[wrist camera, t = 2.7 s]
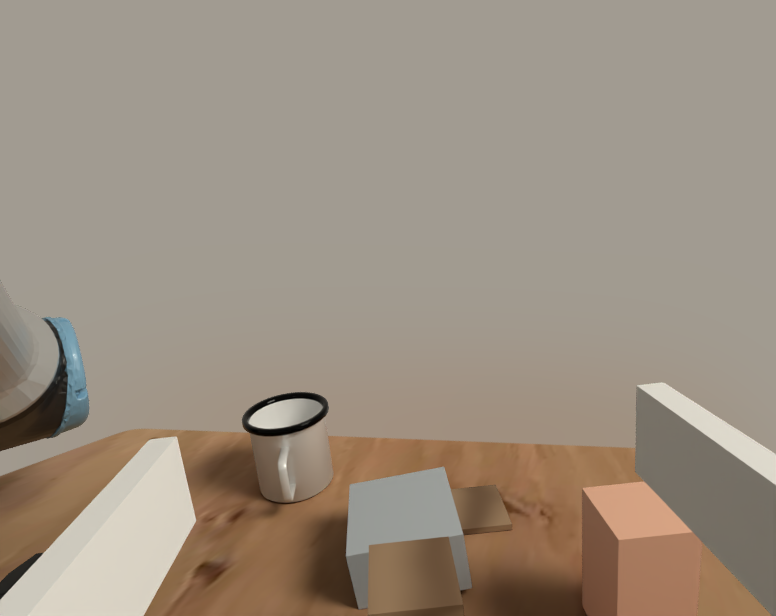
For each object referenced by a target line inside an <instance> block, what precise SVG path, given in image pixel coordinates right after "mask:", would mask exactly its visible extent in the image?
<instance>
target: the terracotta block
mask: <svg viewBox="0 0 776 616" xmlns="http://www.w3.org/2000/svg"><path fill="white" fill-rule="evenodd" d="M701 553H702V541H701V540H700V539H699V538H698V537H697V536H696V535H695V534H694V533H693V532H692V531H691V530H690V529H689V528H688V527H687V526H686V524H685V523H684V522H683V521H682V520H681V519H680V518H679V517H678V516H677V515H676V514H675V513H674V512H673V511H672V510H671V509H670V508H669V507H668V506H667V505H666V503H665V502H664V501H663V500H662V499H661V498H660V497H659V496H658V495H657V494H656V493H655V492H654V491H653V490H652V489H651V488H650V487H649V486H648V485H647V484H646V482H635V483H626V484H617V485H607V486H598V487H588V488H582V606H583V608H584V610H585V612H586V614H587V616H697V610H698V596H699V582H700V567H701Z"/></svg>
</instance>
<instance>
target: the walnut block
mask: <svg viewBox="0 0 776 616" xmlns="http://www.w3.org/2000/svg"><path fill="white" fill-rule="evenodd" d="M368 616H464V608H463V601H462V596H461V592H460V587H459V582H458V578H457V573H456V569H455V564H454V559H453V555H452V550H451V546H450V541H449V536H448V537H438V538H429V539H420V540H411V541H401V542H392V543H383V544H373V545H369V567H368Z"/></svg>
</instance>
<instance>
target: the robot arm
mask: <svg viewBox="0 0 776 616" xmlns="http://www.w3.org/2000/svg"><path fill="white" fill-rule="evenodd" d="M636 394H637V395H636V396H637V397H636V455H635V472H636V473H637V474H638V475H639V476H640V477H641V478H642V479H643V480H644V481H645V482H646V484H647V485H648V486H649V487H650V488H651V489H652V490H653V491H654V492H655V493H656V494H657V495H658V496H659V497H660V498H661V499H662V500H663V501H664V502H665V503H666V505H667V506H668V507H669V508H670V509H671V510H672V511H673V512H674V513H675V514H676V515H677V516H678V517H679V518H680V519H681V520H682V521H683V522H684V523H685V524H686V526H687V527H688V528H689V529H690V530H691V531H692V532H693V533H694V534H695V535H696V536H697V537H698V538H699V539H700V540H701V541H702V542H703V543H704V544H705V545H706V547H707V548H708V549H709V550H710V551H711V552H712V553H713V554H714V555H715V556H716V557H717V558H718V559H719V560H720V561H721V562H722V563H723V564H724V565H725V567H726V568H727V569H728V570H729V571H730V572H731V573H732V574H733V575H734V576H735V577H736V578H737V579H738V580H739V581H740V582H741V583H742V584H743V585H744V586H745V588H746V589H747V590H748V591H749V592H750V593H751V594H752V595H753V596H754V597H755V598H756V599H757V600H758V601H759V602H760V603H761V604H762V605H763V606H764V607H765V609H766V610H767V611H768V612H769V613H770V614H771V615H772V616H776V454H775V453H773V452H771V451H770V450H768V449H767V448H765V447H764V446H762V445H760V444H759V443H757V442H756V441H754V440H753V439H751V438H749V437H748V436H746V435H745V434H743V433H741V432H740V431H738V430H737V429H735V428H734V427H732V426H731V425H729V424H728V423H726V422H724V421H723V420H721V419H720V418H718V417H717V416H715V415H713V414H712V413H710V412H709V411H707V410H706V409H704V408H703V407H701V406H699V405H698V404H696V403H695V402H693V401H692V400H690V399H688V398H687V397H685V396H684V395H682V394H681V393H679V392H677V391H676V390H674V389H673V388H671V387H670V386H668V385H667V384H665V383H654V384H646V385H637V393H636ZM88 414H89V399H88V393H87V389H86V378H85V372H84V367H83V362H82V357H81V353H80V349H79V345H78V341H77V337H76V334H75V331H74V328H73V327H72V325H71V323H70V321H69V320H67V319H65V318H61V317H59V318H51V317H45V318H40V317H39V316H37V315H36V314H34V313H33V312H31V311H29V310H28V309H25V308H23V307H21V306H18V305H14V303H13V302H12V300H11V298H10V296H9V295H8V293H7V291H6V289H5V288H4V286H3V284H2V282H1V281H0V451H2V450H6V449H9V448H13V447H16V446H19V445H23V444H27V443H30V442H33V441H37V440H40V439H44V438H53V437H56V436H58V435H59V434H60V433H63V432H65V431H68V430H71V429H73V428H76V427H79V426H80V425H82V424H83V423H84V422H85V421H86V419H87V417H88ZM195 522H196V518H195V514H194V509H193V505H192V501H191V496H190V492H189V488H188V484H187V479H186V475H185V471H184V466H183V462H182V458H181V453H180V449H179V445H178V440H177V437H169V438H160V439H151V440H149V441H148V442H147V443H146V444H145V445H144V446H143V447H142V448H141V449H140V451H139V452H138V453H137V454H136V455H135V456H134V457H133V458H132V459H131V460H130V461H129V462H128V463H127V464H126V466H125V467H124V468H123V469H122V470H121V471H120V472H119V473H118V474H117V475H116V476H115V477H114V478H113V479H112V481H111V482H110V483H109V484H108V485H107V486H106V487H105V488H104V489H103V490H102V491H101V492H100V493H99V494H98V496H97V497H96V498H95V499H94V500H93V501H92V502H91V503H90V504H89V505H88V506H87V507H86V508H85V509H84V511H83V512H82V513H81V514H80V515H79V516H78V517H77V518H76V519H75V520H74V521H73V522H72V523H71V524H70V526H69V527H68V528H67V529H66V530H65V531H64V532H63V533H62V534H61V535H60V536H59V537H58V538H57V539H56V541H55V542H54V543H53V544H52V545H51V546H50V547H49V548H48V549H47V550H46V551H45V552H44V553H38V554H35V555H34V556H33V557H31V558H30V559H28V560H27V561H26V562H24V563H23V564H21V565H20V566H19V567H17V568H16V569H14V570H13V571H12V572H10V573H9V574H8V575H7V576H6V577H5V578H4V579H3V580H2V581H1V582H0V616H143V615H144V614H145V612H146V610H147V608H148V606H149V605H150V603H151V601H152V599H153V597H154V596H155V594H156V592H157V590H158V588H159V587H160V585H161V583H162V581H163V579H164V578H165V576H166V574H167V572H168V570H169V569H170V567H171V565H172V563H173V561H174V560H175V558H176V556H177V554H178V552H179V551H180V549H181V547H182V545H183V543H184V542H185V540H186V538H187V536H188V534H189V533H190V531H191V529H192V527H193V525H194V524H195Z"/></svg>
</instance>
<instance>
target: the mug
mask: <svg viewBox="0 0 776 616" xmlns="http://www.w3.org/2000/svg"><path fill="white" fill-rule="evenodd" d="M328 409H329V406H328V402H327V400H326V399H325V398H324V397H322V396H320V395H318V394H314V393H308V392H295V393H287V394H281V395H277V396H274V397H271V398H268V399H265V400H263V401H261V402H259V403H257V404H255V405H254V406H252V407H251V408H249V409H248V410H247V411H246V412H245V414H244V415H243V418H242V425H243V428H244V429H245V430H246V431H247V432H249V433H250V438H251V443H252V448H253V454H254V459H255V464H256V470H257V475H258V480H259V486H260V490H261V493H262V495H263V496H264V497H265V498H267V499H269V500H271V501H275V502H282V503H290V502H297V501H302V500H305V499H308V498H310V497H312V496H314V495H316V494H318V493H319V492H321V491H322V490H323V489H325V488H326V487H327V486H328V485H329V483H330V482H331V480H332V478H333V467H332V461H331V454H330V447H329V440H328V434H327V427H326V421H325V416H326V414H327V413H328Z"/></svg>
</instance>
